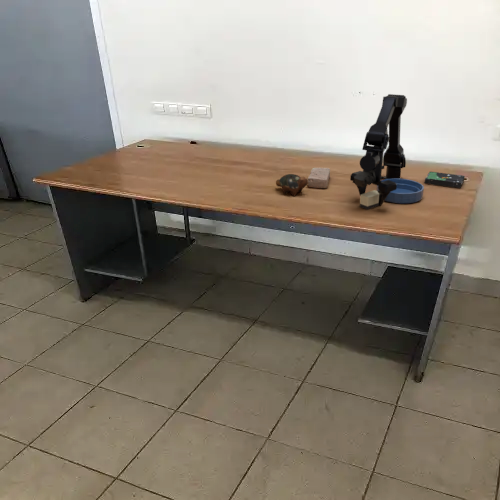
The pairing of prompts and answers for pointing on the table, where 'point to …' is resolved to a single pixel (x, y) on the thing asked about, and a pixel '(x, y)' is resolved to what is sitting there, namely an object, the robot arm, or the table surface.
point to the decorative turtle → (292, 183)
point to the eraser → (369, 200)
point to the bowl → (405, 191)
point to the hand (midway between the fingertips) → (370, 202)
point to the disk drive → (444, 179)
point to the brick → (319, 177)
